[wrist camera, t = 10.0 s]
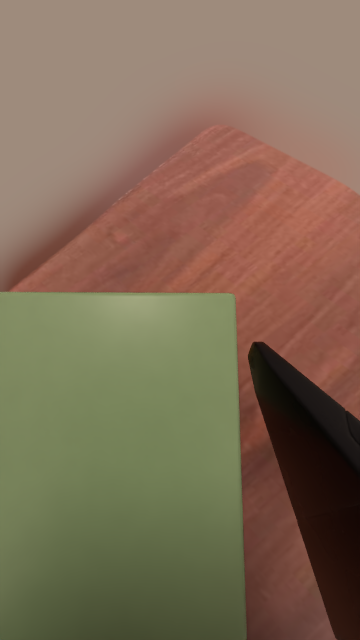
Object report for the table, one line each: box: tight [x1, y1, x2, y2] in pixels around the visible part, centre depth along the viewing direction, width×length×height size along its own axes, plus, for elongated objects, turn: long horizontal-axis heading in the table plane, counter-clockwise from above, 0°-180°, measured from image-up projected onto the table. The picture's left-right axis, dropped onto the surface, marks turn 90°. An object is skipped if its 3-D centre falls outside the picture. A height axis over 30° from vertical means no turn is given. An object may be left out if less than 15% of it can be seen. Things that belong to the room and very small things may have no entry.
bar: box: [0, 292, 247, 640], centre depth 9 cm, size 5×4×13 cm
